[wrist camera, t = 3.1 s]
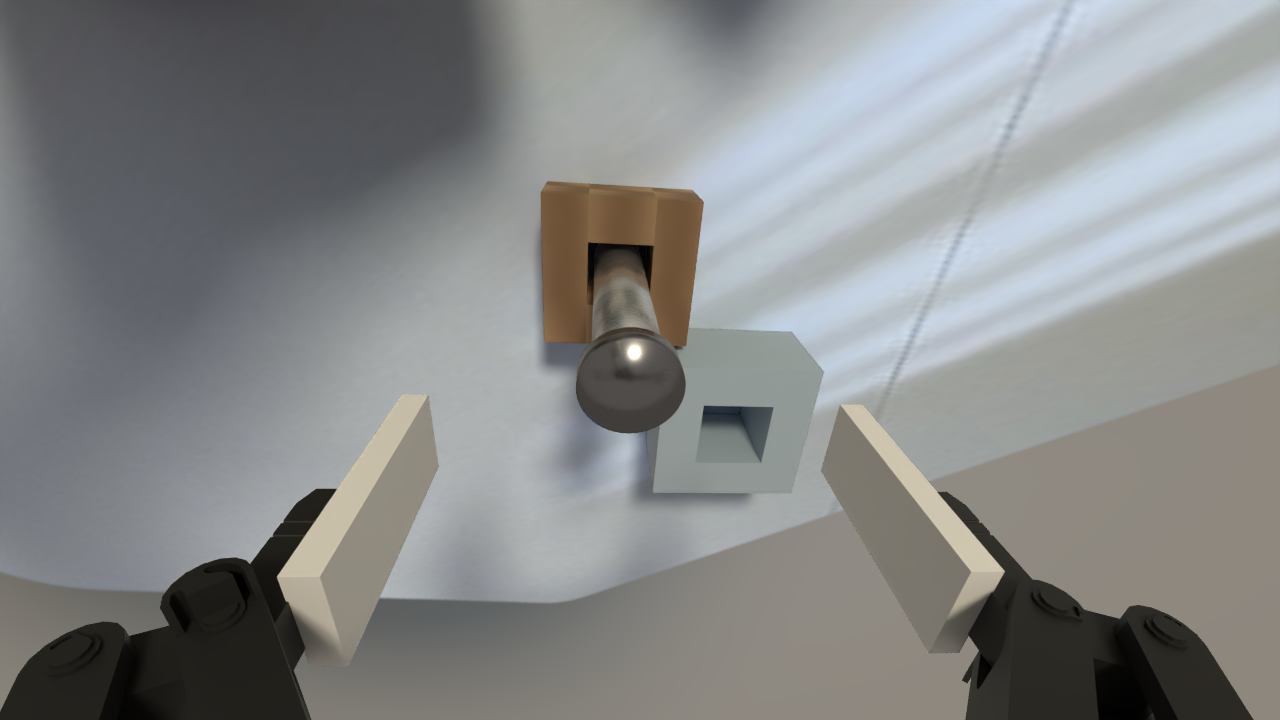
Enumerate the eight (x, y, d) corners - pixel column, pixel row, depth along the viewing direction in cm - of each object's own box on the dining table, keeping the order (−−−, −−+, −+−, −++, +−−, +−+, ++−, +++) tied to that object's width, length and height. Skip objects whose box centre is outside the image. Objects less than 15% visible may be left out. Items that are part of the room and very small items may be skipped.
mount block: (549, 317, 35) (544, 341, 31) (547, 181, 31) (540, 192, 27) (677, 321, 36) (686, 346, 32) (692, 190, 32) (703, 201, 28)
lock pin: (586, 284, 34) (575, 432, 19) (587, 224, 32) (576, 336, 17) (645, 286, 34) (679, 433, 19) (649, 227, 33) (691, 340, 18)
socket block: (646, 440, 40) (652, 492, 35) (656, 327, 36) (665, 367, 31) (766, 442, 41) (791, 493, 36) (791, 332, 37) (823, 371, 32)
